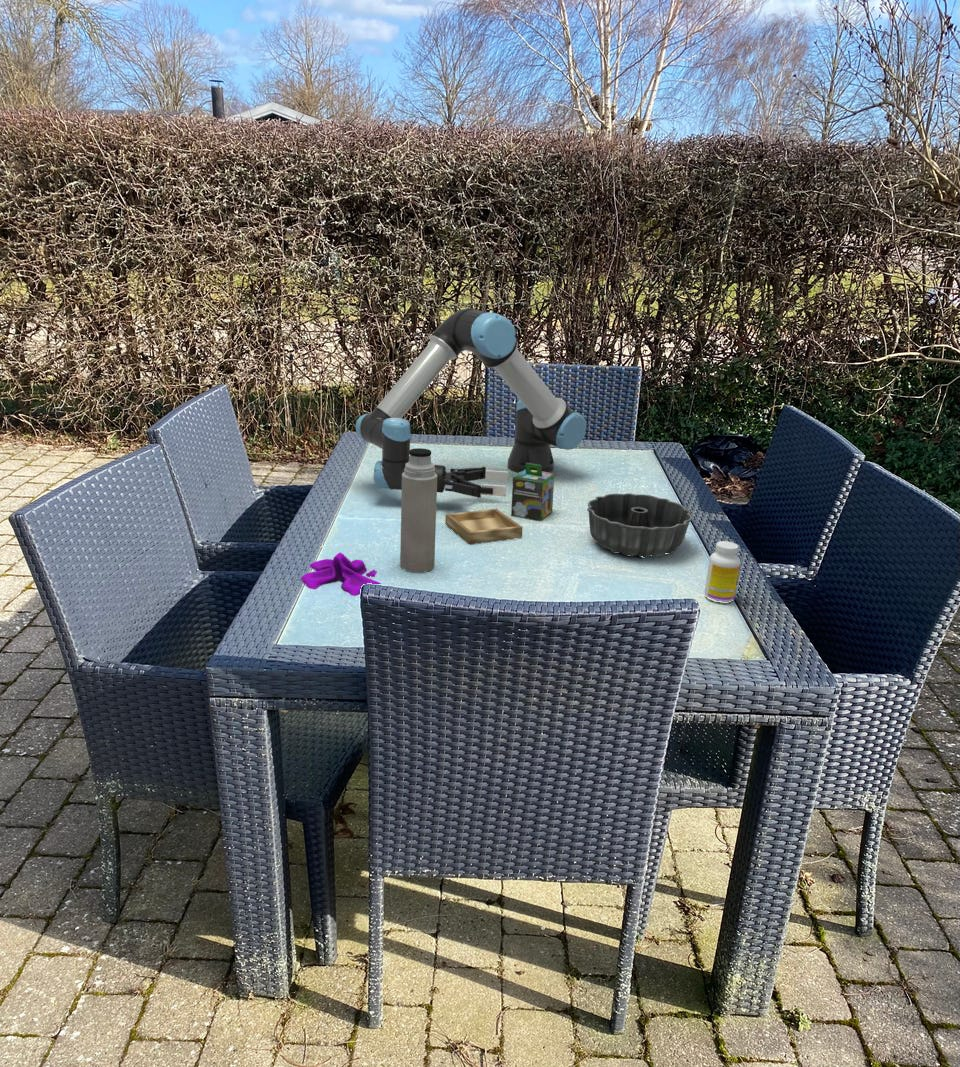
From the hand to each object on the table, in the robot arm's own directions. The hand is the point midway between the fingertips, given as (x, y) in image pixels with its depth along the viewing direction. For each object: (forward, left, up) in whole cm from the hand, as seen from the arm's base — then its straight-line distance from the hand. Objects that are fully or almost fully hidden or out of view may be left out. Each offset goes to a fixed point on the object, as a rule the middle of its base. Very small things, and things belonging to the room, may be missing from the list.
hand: (507, 483), depth 245 cm
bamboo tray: (+13, +12, -8) cm, 19 cm away
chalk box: (-6, +3, -9) cm, 11 cm away
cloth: (+55, +27, -9) cm, 62 cm away
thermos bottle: (+38, +28, -9) cm, 48 cm away
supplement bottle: (-19, +67, -9) cm, 71 cm away
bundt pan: (-20, +33, -9) cm, 40 cm away
